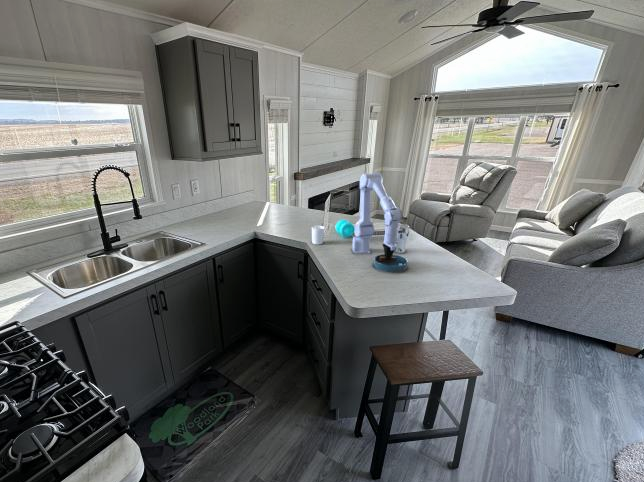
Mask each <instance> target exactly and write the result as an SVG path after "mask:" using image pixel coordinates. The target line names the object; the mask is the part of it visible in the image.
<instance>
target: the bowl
mask: <svg viewBox="0 0 644 482" xmlns="http://www.w3.org/2000/svg"><path fill="white" fill-rule="evenodd" d="M380 257H385V253H382V254H378V255H375V256H374V258H373V267H374V268H376V269H377V270H378V271H381V272H385V273H402V272H405V271H406V270H407V269H408V262H409V260H408V259H407V258H406V257H404V256H401V255H397V254H393V255H392V257H396V262H380V261H379V259H380Z"/></svg>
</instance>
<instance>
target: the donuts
mask: <svg viewBox="0 0 644 482" xmlns="http://www.w3.org/2000/svg"><path fill="white" fill-rule="evenodd" d="M354 230H355V225H354V224H353V223H352V222H350V221H349V220H347V219H340V220H338V221H337V223H336V224H335V231H336V233H337V234H339V235H341V237H343V238H350V237H352V236H353V235H354V234H355V232H354Z"/></svg>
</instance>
